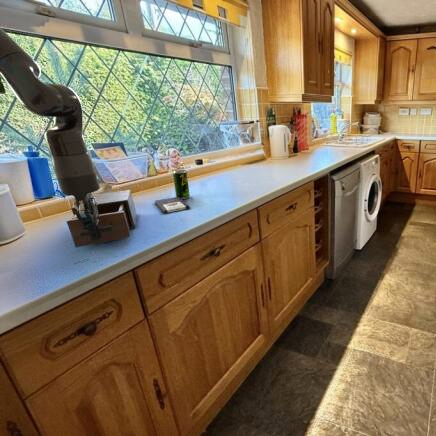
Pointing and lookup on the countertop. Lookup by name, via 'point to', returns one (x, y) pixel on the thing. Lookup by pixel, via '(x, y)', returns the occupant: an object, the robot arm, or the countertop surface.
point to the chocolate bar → (171, 204)
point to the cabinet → (117, 198)
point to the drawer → (102, 225)
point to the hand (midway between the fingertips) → (97, 238)
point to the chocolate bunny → (106, 188)
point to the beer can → (181, 183)
